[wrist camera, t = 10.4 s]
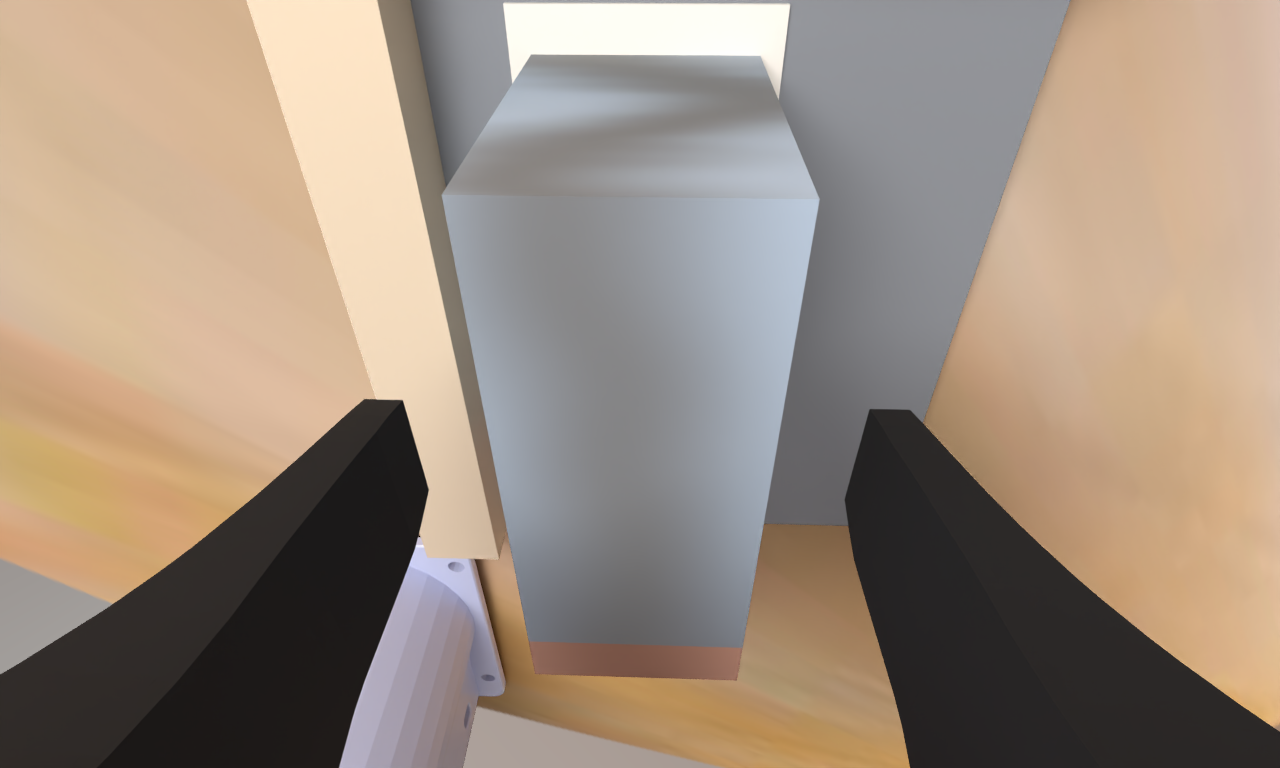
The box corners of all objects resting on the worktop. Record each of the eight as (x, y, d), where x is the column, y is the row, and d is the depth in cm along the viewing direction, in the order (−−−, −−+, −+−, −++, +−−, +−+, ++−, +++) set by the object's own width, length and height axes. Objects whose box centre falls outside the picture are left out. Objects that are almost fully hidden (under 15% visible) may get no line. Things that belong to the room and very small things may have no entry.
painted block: (760, 55, 12) (819, 199, 7) (719, 462, 18) (737, 680, 13) (531, 54, 12) (441, 195, 7) (569, 459, 18) (534, 674, 14)
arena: (881, 510, 20) (899, 570, 18) (446, 500, 20) (427, 557, 19) (1151, -297, 9) (1252, -325, 8) (232, -288, 10) (144, -314, 8)
